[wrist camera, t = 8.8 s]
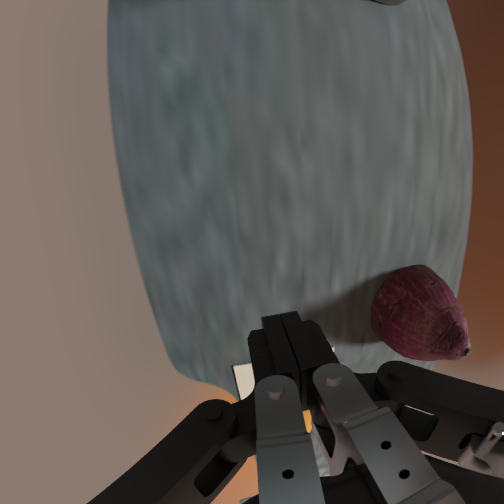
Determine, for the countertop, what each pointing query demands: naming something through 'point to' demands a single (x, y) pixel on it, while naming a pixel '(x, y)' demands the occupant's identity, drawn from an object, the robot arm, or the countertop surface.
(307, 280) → the countertop surface
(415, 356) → the vegetable
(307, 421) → the ball
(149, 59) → the countertop surface
